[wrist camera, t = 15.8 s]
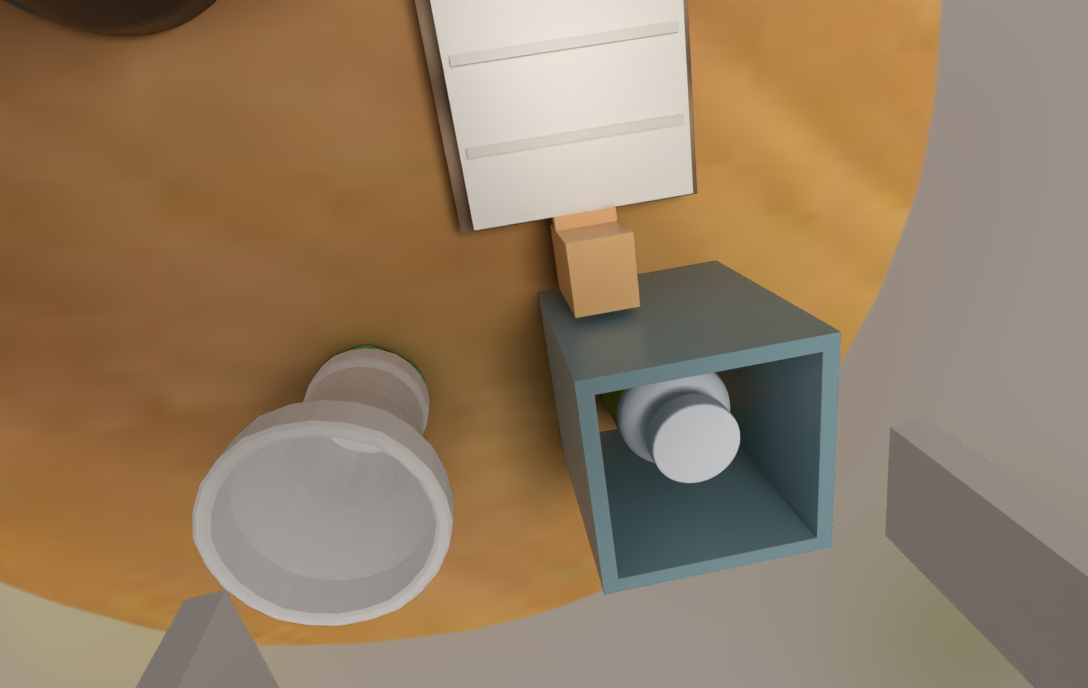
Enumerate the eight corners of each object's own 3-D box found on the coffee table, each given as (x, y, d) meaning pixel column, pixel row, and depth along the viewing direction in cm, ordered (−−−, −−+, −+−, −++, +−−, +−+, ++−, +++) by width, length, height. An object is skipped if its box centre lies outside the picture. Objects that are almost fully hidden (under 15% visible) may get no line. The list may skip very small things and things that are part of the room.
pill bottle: (585, 400, 42) (626, 499, 31) (595, 313, 39) (643, 386, 28) (673, 402, 42) (744, 498, 32) (688, 316, 40) (769, 389, 29)
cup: (410, 489, 42) (385, 657, 29) (257, 427, 39) (152, 583, 26) (486, 362, 40) (496, 483, 26) (328, 284, 36) (249, 377, 23)
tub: (537, 292, 38) (574, 381, 25) (716, 260, 39) (840, 331, 26) (562, 449, 43) (604, 594, 30) (722, 418, 43) (831, 547, 30)
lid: (427, -20, 30) (418, -51, 24) (663, -54, 31) (707, -91, 25) (488, 300, 36) (492, 333, 31) (683, 265, 37) (721, 291, 32)
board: (404, -61, 31) (399, -75, 28) (666, -97, 31) (682, -114, 29) (461, 226, 36) (461, 233, 34) (682, 188, 37) (697, 193, 35)
